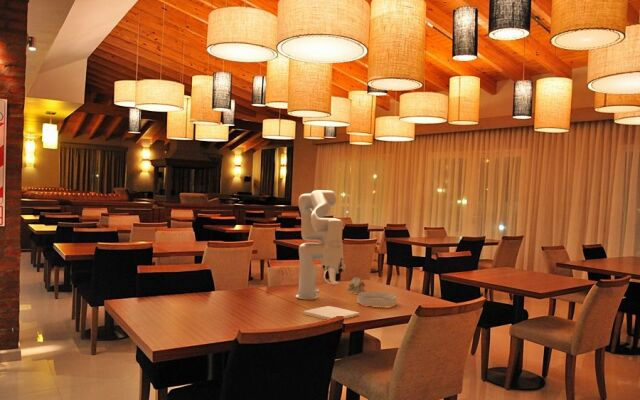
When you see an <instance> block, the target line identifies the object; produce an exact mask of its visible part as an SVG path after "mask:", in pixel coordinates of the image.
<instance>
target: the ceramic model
mask: <svg viewBox="0 0 640 400" xmlns="http://www.w3.org/2000/svg"><path fill="white" fill-rule="evenodd" d="M365 287H366V284H365V282H364V281H363V280H362V279H361V278H360V277H359V276H355V277H353V278H352V279H351V280H350V281H349V282H348V288H347V290H346V292H347V291H349V292H352V293H357V294H358V293H361V292H367V290H366V289H365Z"/></svg>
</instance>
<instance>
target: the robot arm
mask: <svg viewBox="0 0 640 400" xmlns="http://www.w3.org/2000/svg"><path fill="white" fill-rule="evenodd" d="M336 203H337V194H336V193H335V192H334V190H327V189H326V190H324V189H323V190H322V189H316V190H312V192H311V193H302V194H300V196H299V197H298V208H299V212H300V216H301V217H300V218H301V227H300V228H301V233H300V235H301V238H302V240H304V241H319V242H304V243H301V244H300V245H299V246H298V257H299V274H298V275H299V276H298V293H297V294H296V295H295V298H296V299H298V300H305V301H308V300H309V301H310V300H317V299H318V295H317V294H319V293H320V292H321V291H320V289H316V279H317V277H316V276H317V267H316V265H315V263H314V262H313V260H314V261H315V260H316V261H317V260H318V261H319V260H321V262H320V265H321V266H322V269H323V271H324V272H325V271H326V270H328V267H334V268H336V271H337V273H336V277H335V281H338V282H339V281H341V275H342V273H343V271H344V270H346V268H347V265H346V263H345V262H344V249H343V247H342V246H343V244H342V243H343V241H342V240H343V226H344V225H343V224H344V223H343V220H341V219H339V218H336V217H335V218H334V217H326V216H328V214H329V213H330V212H331V208H332V207H334V206H335V205H336ZM338 268H339V269H338ZM325 278H326V280H330V279H329V272H328V271H327V272H326V274H325Z"/></svg>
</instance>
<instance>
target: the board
mask: <svg viewBox="0 0 640 400" xmlns="http://www.w3.org/2000/svg"><path fill="white" fill-rule="evenodd" d="M302 315H306V316H309V317H313V318H318V319H321V320H326V319H329V318H333V317H336V316H344V317H345V318H348V319H350V318H349V317H352V316H356V315H359V316H360V312H358V311H354V310H350V309H345V308H341V307H336V306H332V305H326V306H322V307H317V308H316V307H315V308H311V309H307V310H304V311H302ZM356 317H357V316H356ZM352 318H353V317H352ZM326 321H327V320H326Z"/></svg>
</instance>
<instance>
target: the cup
mask: <svg viewBox="0 0 640 400" xmlns="http://www.w3.org/2000/svg"><path fill="white" fill-rule="evenodd" d="M338 269H339V268H338ZM327 271H328V272H329V279H326V278H325V274H326V272H327ZM336 273H337V271H336V268H334V267H328V270H326V271H324V273H323V279H324V281H325V282H326V283H328V284H332V285H333V284H334V285H337V284H338V285H339V281H335V277H336ZM328 280H329V281H330V282H329V281H328Z"/></svg>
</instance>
